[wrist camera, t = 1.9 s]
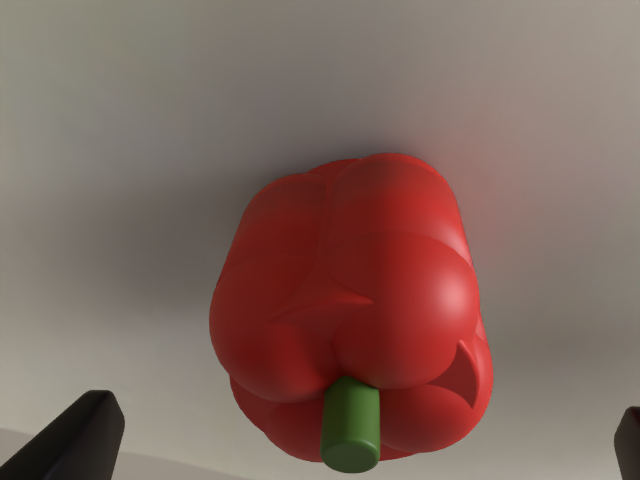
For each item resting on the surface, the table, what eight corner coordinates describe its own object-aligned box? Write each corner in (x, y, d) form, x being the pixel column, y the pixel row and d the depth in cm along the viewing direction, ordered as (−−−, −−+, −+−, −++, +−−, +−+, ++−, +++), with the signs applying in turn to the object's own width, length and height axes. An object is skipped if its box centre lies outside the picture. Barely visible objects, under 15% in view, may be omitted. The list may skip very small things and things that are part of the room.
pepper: (523, 192, 13) (634, 431, 7) (393, 336, 16) (404, 573, 11) (309, 76, 12) (252, 259, 6) (215, 258, 15) (126, 481, 9)
